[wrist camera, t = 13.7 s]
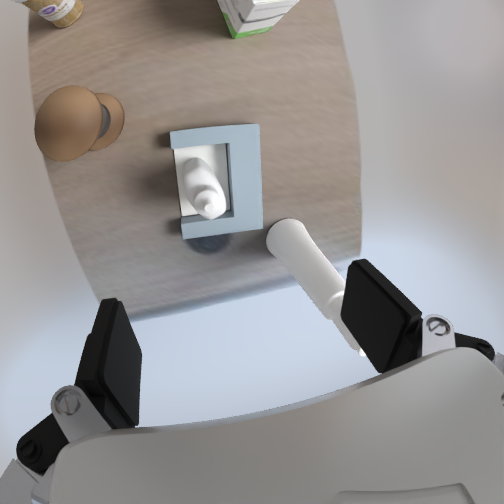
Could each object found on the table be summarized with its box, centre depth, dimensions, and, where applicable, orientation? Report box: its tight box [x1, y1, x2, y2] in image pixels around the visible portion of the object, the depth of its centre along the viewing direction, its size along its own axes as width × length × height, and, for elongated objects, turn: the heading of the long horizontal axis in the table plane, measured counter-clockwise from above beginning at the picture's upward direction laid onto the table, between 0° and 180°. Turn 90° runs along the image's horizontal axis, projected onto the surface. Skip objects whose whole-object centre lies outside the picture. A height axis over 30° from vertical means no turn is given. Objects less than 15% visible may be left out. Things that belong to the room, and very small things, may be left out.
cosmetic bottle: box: [266, 219, 366, 356], centre depth 30 cm, size 6×6×22 cm
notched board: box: [170, 124, 263, 239], centre depth 32 cm, size 13×10×2 cm
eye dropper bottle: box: [183, 157, 226, 220], centre depth 28 cm, size 4×6×12 cm
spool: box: [35, 85, 124, 162], centre depth 22 cm, size 7×7×10 cm
